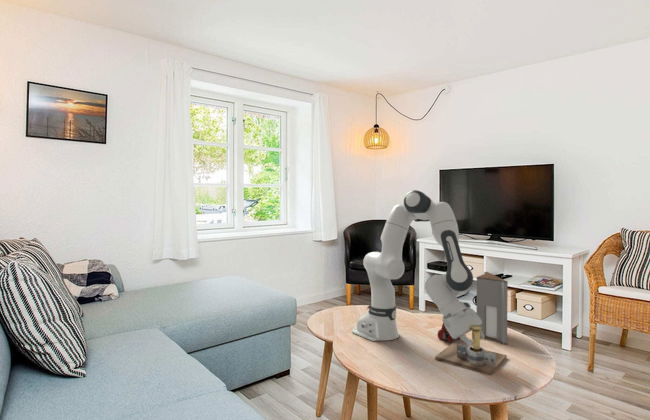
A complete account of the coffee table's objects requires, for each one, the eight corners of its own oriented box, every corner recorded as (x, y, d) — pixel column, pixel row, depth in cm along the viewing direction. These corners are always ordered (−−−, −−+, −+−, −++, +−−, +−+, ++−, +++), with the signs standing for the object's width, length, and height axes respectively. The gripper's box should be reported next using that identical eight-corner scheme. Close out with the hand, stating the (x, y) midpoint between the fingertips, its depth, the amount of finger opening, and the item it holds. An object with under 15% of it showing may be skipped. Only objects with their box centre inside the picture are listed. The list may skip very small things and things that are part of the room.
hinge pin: (468, 361, 154) (468, 326, 153) (473, 358, 156) (474, 323, 156) (477, 364, 150) (478, 328, 150) (483, 362, 153) (483, 326, 153)
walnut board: (435, 359, 159) (435, 356, 159) (453, 345, 173) (453, 342, 173) (491, 375, 145) (491, 371, 145) (506, 358, 159) (506, 355, 159)
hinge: (454, 359, 156) (454, 347, 155) (460, 354, 160) (460, 342, 160) (492, 369, 146) (492, 356, 146) (497, 364, 151) (497, 351, 151)
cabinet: (507, 344, 173) (507, 281, 172) (485, 344, 173) (485, 281, 172) (487, 328, 194) (487, 271, 193) (467, 328, 194) (467, 272, 193)
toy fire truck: (434, 340, 180) (434, 317, 179) (450, 333, 187) (450, 312, 187) (447, 344, 174) (447, 321, 174) (463, 337, 182) (463, 315, 182)
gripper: (445, 312, 150) (470, 344, 144) (470, 302, 164) (494, 330, 158) (435, 321, 154) (458, 353, 147) (460, 310, 168) (483, 338, 161)
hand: (477, 341), depth 153 cm, fingers open, 8 cm apart
